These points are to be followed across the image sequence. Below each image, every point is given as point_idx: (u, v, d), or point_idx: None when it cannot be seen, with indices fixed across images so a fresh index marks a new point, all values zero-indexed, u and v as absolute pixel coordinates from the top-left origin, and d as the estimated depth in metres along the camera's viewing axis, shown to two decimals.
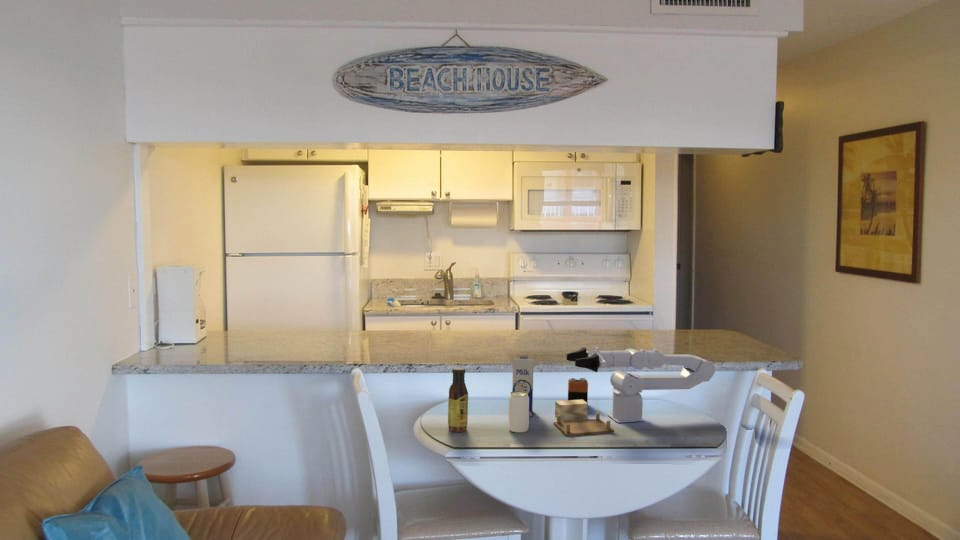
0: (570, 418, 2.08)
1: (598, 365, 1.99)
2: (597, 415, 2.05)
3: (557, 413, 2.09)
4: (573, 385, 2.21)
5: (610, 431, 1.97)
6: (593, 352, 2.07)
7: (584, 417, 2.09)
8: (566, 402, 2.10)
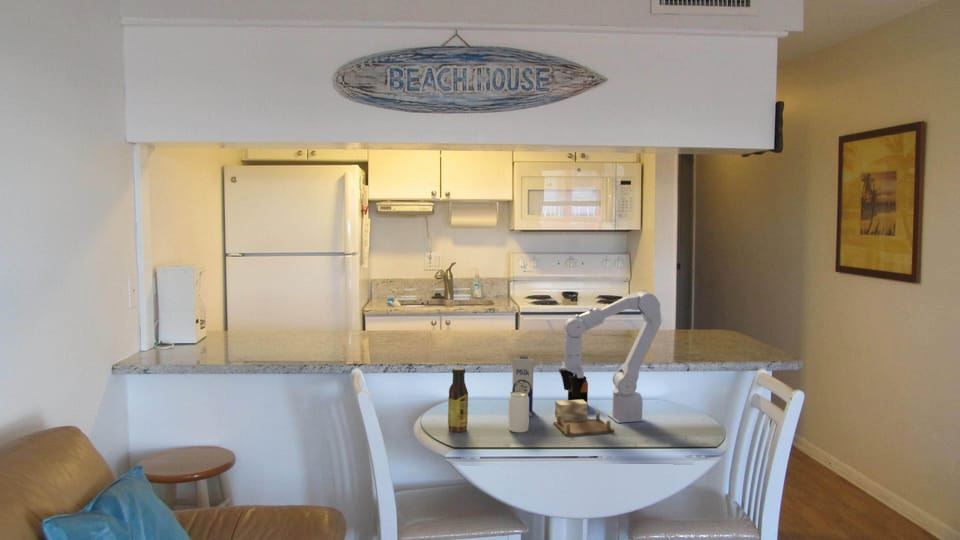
0: (570, 418, 2.08)
1: (580, 377, 2.03)
2: (597, 415, 2.05)
3: (557, 413, 2.09)
4: None
5: (610, 431, 1.97)
6: None
7: (584, 417, 2.09)
8: (566, 402, 2.10)
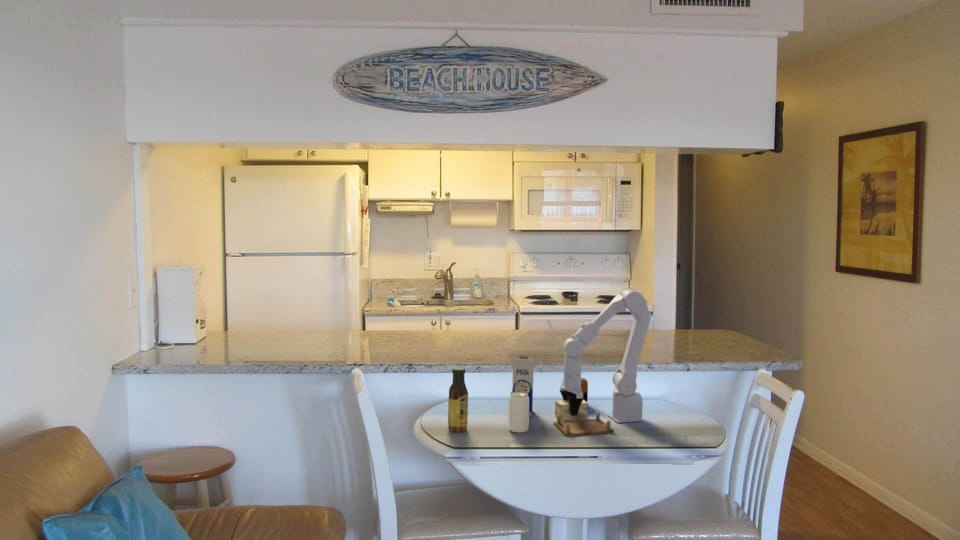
0: (570, 418, 2.08)
1: None
2: (597, 415, 2.05)
3: (557, 413, 2.09)
4: None
5: (610, 431, 1.97)
6: None
7: (584, 417, 2.09)
8: (566, 401, 2.10)
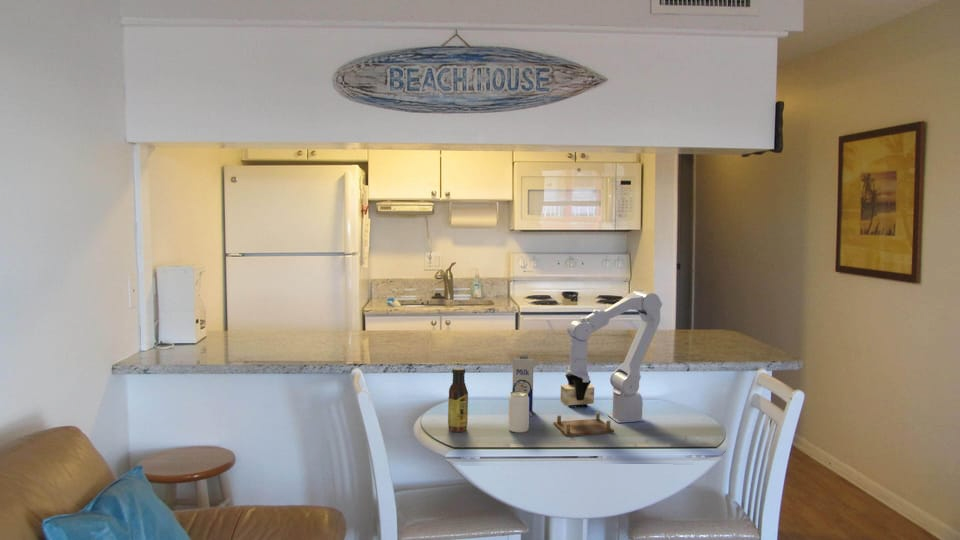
0: (576, 402, 2.03)
1: None
2: (597, 415, 2.05)
3: (563, 397, 2.04)
4: None
5: (610, 431, 1.97)
6: None
7: (590, 401, 2.04)
8: (572, 386, 2.05)
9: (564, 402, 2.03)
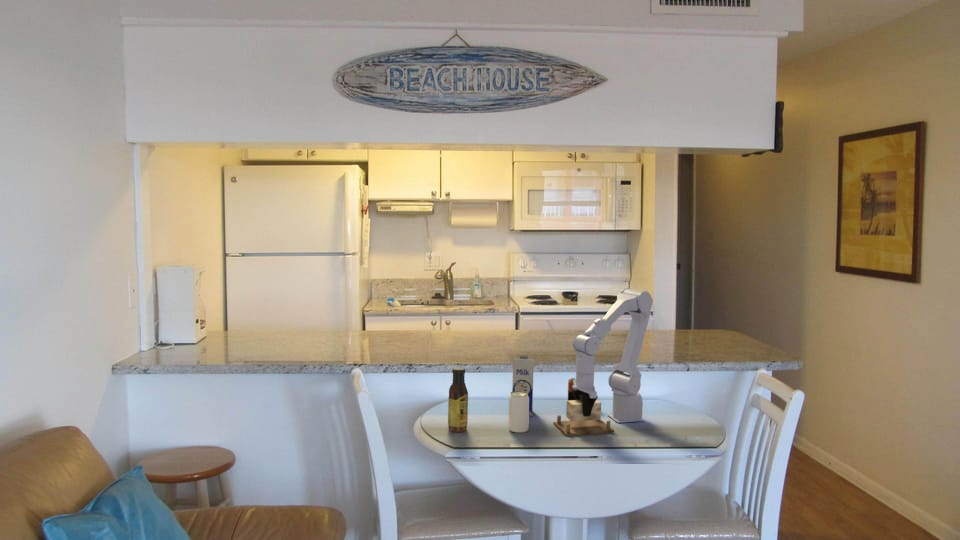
0: (582, 418, 1.98)
1: None
2: None
3: (569, 413, 1.99)
4: None
5: (610, 431, 1.97)
6: None
7: (597, 417, 1.99)
8: (578, 401, 2.00)
9: (570, 418, 1.97)
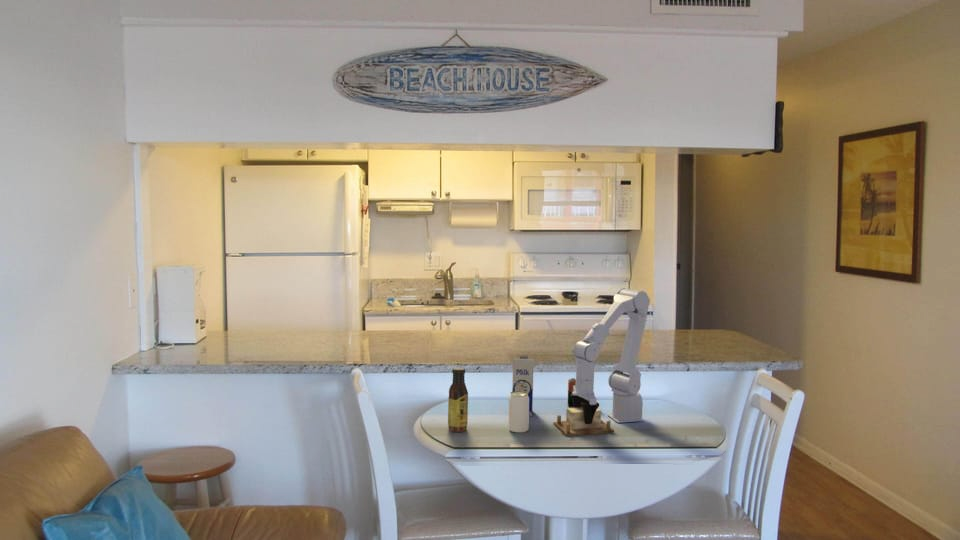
0: (582, 426, 1.98)
1: None
2: None
3: (569, 421, 1.99)
4: (573, 385, 2.21)
5: (610, 431, 1.97)
6: None
7: (597, 425, 1.99)
8: (578, 409, 2.00)
9: (570, 426, 1.98)
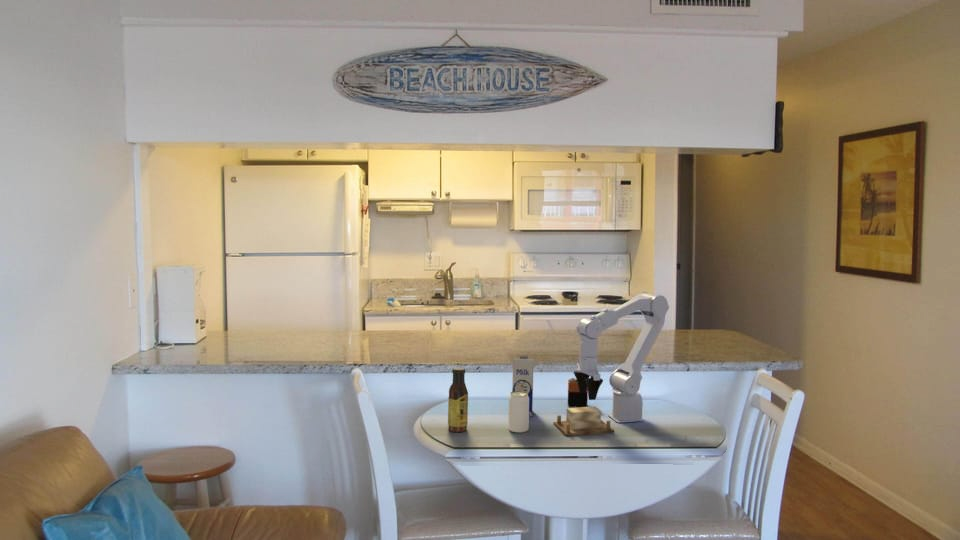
0: (582, 426, 1.98)
1: (596, 380, 1.98)
2: None
3: (569, 421, 1.99)
4: (573, 385, 2.21)
5: (610, 431, 1.97)
6: None
7: (597, 425, 1.99)
8: (578, 409, 2.00)
9: (570, 426, 1.98)
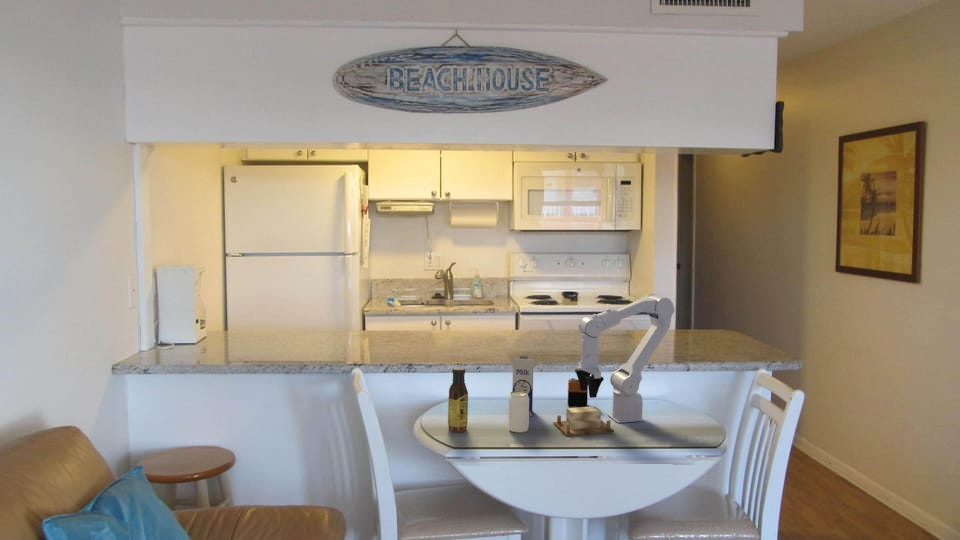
0: (582, 426, 1.98)
1: (597, 378, 2.00)
2: None
3: (569, 421, 1.99)
4: (573, 385, 2.21)
5: (610, 431, 1.97)
6: None
7: (597, 425, 1.99)
8: (578, 409, 2.00)
9: (570, 426, 1.98)
